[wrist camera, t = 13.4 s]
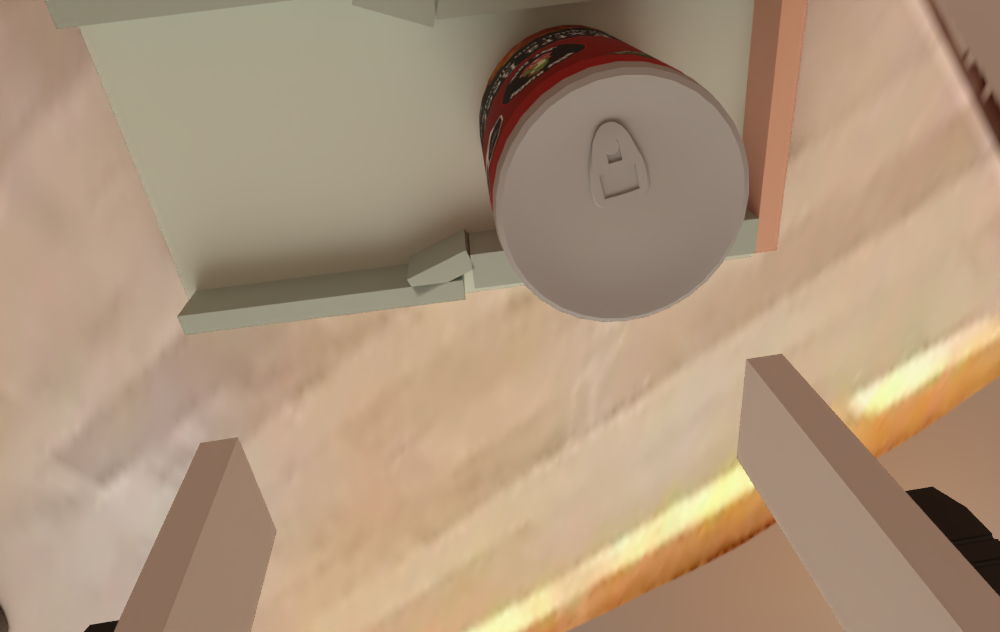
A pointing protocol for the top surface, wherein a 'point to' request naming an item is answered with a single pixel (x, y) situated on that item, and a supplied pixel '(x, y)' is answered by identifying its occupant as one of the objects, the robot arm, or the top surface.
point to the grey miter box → (380, 134)
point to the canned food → (608, 174)
